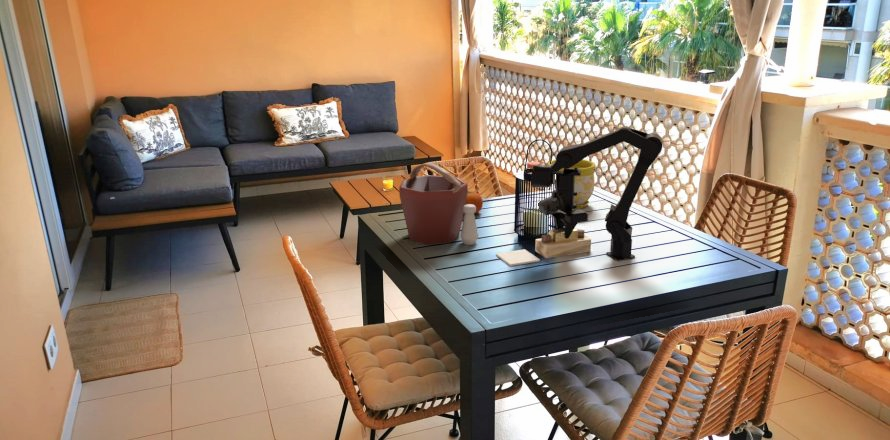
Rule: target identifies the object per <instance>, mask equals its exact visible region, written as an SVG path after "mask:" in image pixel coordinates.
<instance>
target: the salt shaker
mask: <svg viewBox="0 0 890 440" xmlns="http://www.w3.org/2000/svg"><path fill="white" fill-rule="evenodd" d="M463 212H464V213H465V214H463V219H462V224H461V230H460V239H461V241H462V244H464V245H466V246H473V245H475V244H477V242H478V241H477V240H478V239H479V232H478V227H477V222H476V217H475V214H476V213H475V212H476V206H475V205H472V204H467V205H464V206H463ZM474 213H475V214H474Z"/></svg>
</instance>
